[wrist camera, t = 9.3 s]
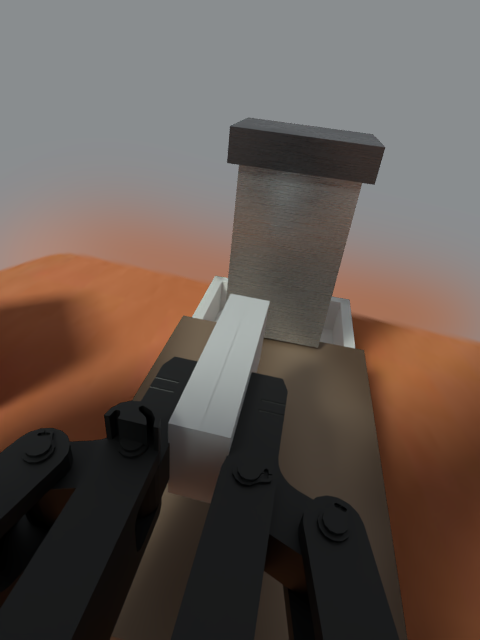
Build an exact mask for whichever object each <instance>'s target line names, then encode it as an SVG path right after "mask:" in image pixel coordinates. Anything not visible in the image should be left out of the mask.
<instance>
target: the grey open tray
mask: <svg viewBox="0 0 480 640" xmlns="http://www.w3.org/2000/svg"><path fill="white" fill-rule="evenodd" d="M227 286H228V278H225V277H219V276H215V277H214V279H213V281H212V283H211V284H210V286H209V288H208V290H207V291H206V293H205V295H204V297H203V299H202V300H201V302H200V304H199V306H198V308H197V309H196V311H195V313H194V315H193V316H192V317H193V318H198V319H203V320H208V321H214V322H217V321H218V319H219V317H220V315H221V313H222V310H223V308H224V306H225V304H226V296H227ZM320 342H324V343H329V344H334V345H340V346H345V347H350V348H355V342H354V333H353V325H352V317H351V309H350V300H348V299H343V298H336V297H331V301H330V305H329V308H328V312H327V316H326V319H325V323H324V327H323V331H322V334H321V338H320Z"/></svg>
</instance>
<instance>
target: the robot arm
mask: <svg viewBox="0 0 480 640" xmlns="http://www.w3.org/2000/svg"><path fill="white" fill-rule="evenodd" d="M269 303H270V301H267V300H261V299H256V298H251V297H246V296H241V295H235V294H230V296H229V298H228V300H227V302H226V304H225V306H224V308H223V310H222V313H221V315H220V317H219V319H218V321H217V323H216V325H215V327H214V329H213V331H212V333H211V335H210V337H209V339H208V342H207V344H206V346H205V348H204V350H203V352H202V354H201V356H200V358H199V360H198V361H194V360H189V359H185V358H180V357H173V358H172V359H170V360H169V361H167V362H166V363H165V364H163V365H162V367H161V368H160V370H159V372H158V373H157V375H156V378H154V380H153V382H152V383H151V385H150V388H148V390H147V392H146V393H145V395H144V397H143V398H142V400H141V401H128V402H123V403H120V404H118V405H116V406H114V407H112V408H111V409H110V410H109V411H108V412H107V413H106V414H105V415H104V418H105V426H106V434H107V438H105V439H101V440H94V441H75V442H69V438H68V436H67V435H66V434H65V433H64V432H63V431H61V430H57V429H54V428H41V429H38V430H34V431H31V432H29V433H27V434H25V435H24V436H22V437H20V438H19V439H17V440H16V441H15V442H14V443H12V444H11V445H10V446H9V447H7V448H6V449H5V450H4V451H2V452H1V453H0V640H110V638H111V635H112V633H113V630H114V628H115V625H116V623H117V620H118V618H119V615H120V613H121V610H122V608H123V605H124V603H125V600H126V597H127V595H128V592H129V590H130V587H131V585H132V582H133V580H134V577H135V575H136V572H137V570H138V567H139V565H140V562H141V560H142V557H143V555H144V552H145V550H146V547H147V545H148V542H149V540H150V537H151V535H152V532H153V530H154V527H155V524H156V522H157V519H158V517H159V514H160V510H161V505H162V496H163V493H164V491H165V488H166V486H167V483H168V493H172V494H176V495H180V496H184V497H188V498H191V499H195V500H199V501H203V502H207V503H210V507H209V510H208V513H207V517H206V520H205V524H204V527H203V530H202V534H201V537H200V541H199V544H198V548H197V551H196V554H195V558H194V561H193V565H192V568H191V571H190V575H189V578H188V582H187V585H186V589H185V592H184V595H183V599H182V602H181V606H180V609H179V612H178V616H177V619H176V623H175V626H174V630H173V633H172V636H171V640H254V637H255V630H256V623H257V616H258V609H259V602H260V594H261V587H262V580H263V573H264V571H265V572H266V573H267V574H269V575H270V576H272V577H273V578H274V579H276V580H277V581H279V582H280V583H281V584H283V591H284V600H285V609H286V617H287V626H288V635H289V640H400V639H399V636H398V633H397V630H396V626H395V623H394V620H393V617H392V613H391V610H390V607H389V604H388V600H387V597H386V594H385V591H384V587H383V584H382V581H381V578H380V574H379V571H378V568H377V565H376V561H375V558H374V555H373V552H372V548H371V545H370V542H369V539H368V535H367V532H366V529H365V526H364V523H363V521H362V519H361V517H360V515H359V514H358V512H357V511H356V510H355V509H354V508H353V507H352V506H351V505H350V504H348V503H347V502H345V501H343V500H342V499H340V498H337V497H333V496H328V495H326V496H320V497H316V498H315V499H312V498H310V497H308V496H306V495H305V494H303V493H301V492H300V491H298V490H297V489H295V488H294V487H293V486H291V485H290V484H289V483H288V482H287V480H286V479H285V478H284V476H283V475H282V473H281V471H280V467H279V450H280V443H281V436H282V429H283V422H284V415H285V408H286V401H287V394H288V390H287V388H286V385H285V383H284V380H283V379H282V378H277V377H273V376H268V375H263V374H259V373H256V372H257V368H258V365H259V361H260V356H261V350H262V344H263V338H264V333H265V327H266V321H267V315H268V309H269Z"/></svg>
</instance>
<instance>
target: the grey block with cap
mask: <svg viewBox="0 0 480 640" xmlns="http://www.w3.org/2000/svg"><path fill="white" fill-rule="evenodd" d="M384 150H385V147H384V145H383V144H382V143H381V142H380V141H379V140H378V139H377V138H376V137H375V136H374V135H373V134H366V133H359V132H351V131H343V130H336V129H329V128H322V127H314V126H307V125H299V124H292V123H284V122H277V121H270V120H262V119H254V118H247V119H244V120H242V121H240V122H238V123H236V124H233V125H231V126H230V134H229V148H228V159H227V163H231V164H238V165H239V171H238V181H237V193H236V203H235V213H234V223H233V234H232V244H231V254H230V265H229V276H228V286H227V296H226V302H227V300H228V298H229V296H230V294H235V295H241V296H246V297H251V298H256V299H261V300H267V301H270V303H269V309H268V315H267V321H266V327H265V333H264V338H269V339H274V340H280V341H285V342H290V343H295V344H300V345H306V346H311V347H316V348H318V346H319V342H320V338H321V334H322V331H323V327H324V323H325V319H326V316H327V312H328V308H329V305H330V301H331V297H332V293H333V290H334V286H335V282H336V278H337V275H338V271H339V267H340V263H341V259H342V256H343V252H344V248H345V245H346V241H347V237H348V234H349V230H350V226H351V222H352V219H353V215H354V211H355V208H356V204H357V200H358V196H359V193H360V189H361V185H362V183H367V184H375V181H376V178H377V174H378V171H379V167H380V164H381V160H382V157H383V153H384Z"/></svg>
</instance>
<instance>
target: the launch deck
mask: <svg viewBox="0 0 480 640" xmlns="http://www.w3.org/2000/svg"><path fill="white" fill-rule="evenodd" d="M216 323H217V322H214V321H208V320H203V319H198V318H193V317H187V316H183V317H182V318H181V320H180V322H179V323H178V325H177V327H176V328H175V330H174V332H173V333H172V335H171V337H170V338H169V340H168V342H167V343H166V345H165V347H164V348H163V350H162V352H161V353H160V355H159V357H158V358H157V360H156V362H155V363H154V365H153V367H152V368H151V370H150V372H149V373H148V375H147V376H146V378H145V380H144V381H143V383H142V385H141V386H140V388H139V390H138V391H137V393H136V395H135V396H134V398H133V400H132V401H141V400H142V398H143V397H144V395H145V393H146V392H147V390H148V388H150V385H151V383H152V382H153V380H154V378H156V375H157V373H158V372H159V370H160V368H161V367H162V365H163V364H165V363H166V362H167V361H169V360H170V359H172V358H173V357H180V358H185V359H189V360H194V361H198V360H199V358H200V356H201V354H202V352H203V350H204V348H205V346H206V344H207V342H208V339H209V337H210V335H211V333H212V331H213V329H214V327H215V325H216ZM256 373H259V374H263V375H268V376H273V377H277V378H282V379H283V380H284V383H285V385H286V388H287V390H288V394H287V401H286V408H285V415H284V422H283V429H282V436H281V443H280V450H279V467H280V471H281V473H282V475H283V476H284V478H285V479H286V480H287V482H288V483H289V484H290V485H291V486H293V487H294V488H295V489H297V490H298V491H300V492H301V493H303V494H305V495H306V496H308V497H310V498H312V499H315V498H316V497H320V496H326V495H328V496H333V497H337V498H340V499H342V500H343V501H345V502H347V503H348V504H350V505H351V506H352V507H353V508H354V509H355V510H356V511H357V512H358V514H359V515H360V517H361V519H362V521H363V523H364V526H365V529H366V532H367V535H368V539H369V542H370V545H371V548H372V552H373V555H374V558H375V561H376V565H377V568H378V571H379V574H380V578H381V581H382V584H383V587H384V591H385V594H386V597H387V600H388V604H389V607H390V610H391V613H392V617H393V620H394V623H395V626H396V630H397V633H398V636H399V639H400V640H407V633H406V626H405V620H404V613H403V606H402V600H401V593H400V586H399V580H398V573H397V566H396V560H395V553H394V546H393V540H392V533H391V527H390V520H389V513H388V507H387V500H386V493H385V487H384V480H383V473H382V467H381V460H380V453H379V447H378V440H377V433H376V427H375V420H374V414H373V407H372V400H371V394H370V387H369V380H368V374H367V367H366V360H365V354H364V350H361V349H355V348H350V347H345V346H340V345H334V344H329V343H324V342H319V346H318V348H316V347H311V346H306V345H300V344H295V343H290V342H285V341H280V340H274V339H269V338H263V344H262V350H261V356H260V361H259V365H258V368H257V372H256ZM209 507H210V503H207V502H203V501H199V500H195V499H191V498H188V497H184V496H180V495H176V494H172V493H168V483H167V486H166V488H165V491H164V493H163V496H162V505H161V510H160V514H159V517H158V519H157V522H156V524H155V527H154V530H153V532H152V535H151V537H150V540H149V542H148V545H147V547H146V550H145V552H144V555H143V557H142V560H141V562H140V565H139V567H138V570H137V572H136V575H135V577H134V580H133V582H132V585H131V587H130V590H129V592H128V595H127V597H126V600H125V603H124V605H123V608H122V610H121V613H120V615H119V618H118V620H117V623H116V625H115V628H114V630H113V633H112V635H111V638H110V640H171V636H172V633H173V630H174V626H175V623H176V619H177V616H178V612H179V609H180V606H181V602H182V599H183V595H184V592H185V589H186V585H187V582H188V578H189V575H190V571H191V568H192V565H193V561H194V558H195V554H196V551H197V548H198V544H199V541H200V537H201V534H202V530H203V527H204V524H205V520H206V517H207V513H208V510H209ZM254 640H289V635H288V626H287V617H286V609H285V600H284V591H283V584H281V583H280V582H279V581H277V580H276V579H274V578H273V577H272V576H270V575H269V574H267V573H266V572H265V571H264V573H263V580H262V587H261V594H260V602H259V609H258V616H257V623H256V630H255V637H254Z"/></svg>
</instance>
